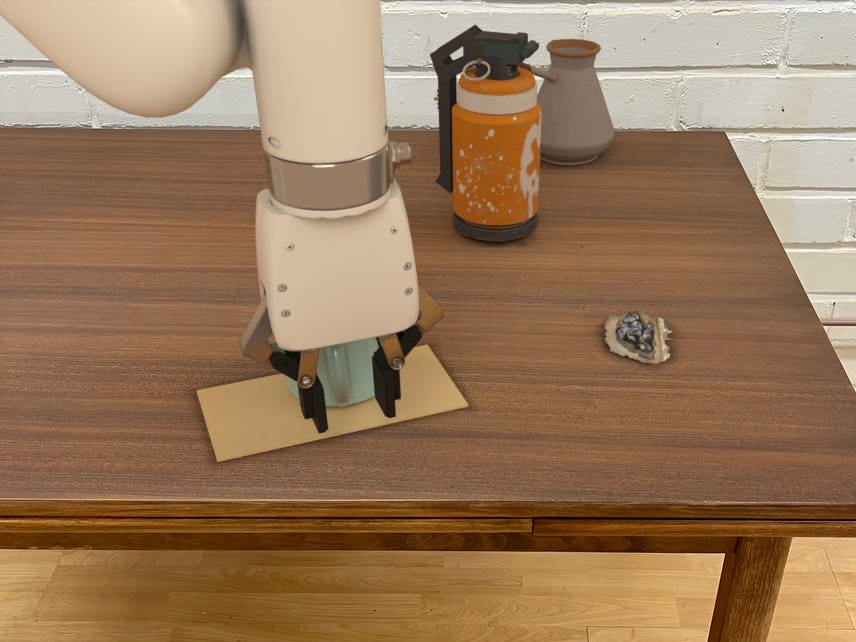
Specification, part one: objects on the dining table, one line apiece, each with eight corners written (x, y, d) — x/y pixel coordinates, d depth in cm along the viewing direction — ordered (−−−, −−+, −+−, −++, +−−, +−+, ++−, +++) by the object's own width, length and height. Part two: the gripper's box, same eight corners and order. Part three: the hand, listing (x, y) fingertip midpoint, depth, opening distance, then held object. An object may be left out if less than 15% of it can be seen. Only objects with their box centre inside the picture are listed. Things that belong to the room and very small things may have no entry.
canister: (522, 252, 98) (529, 46, 86) (423, 237, 101) (415, 35, 88) (546, 218, 105) (556, 22, 92) (452, 204, 108) (449, 12, 95)
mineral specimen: (658, 314, 88) (660, 296, 87) (695, 359, 82) (698, 339, 81) (589, 324, 87) (591, 305, 86) (622, 369, 81) (624, 350, 80)
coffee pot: (567, 132, 126) (575, 9, 117) (631, 156, 120) (645, 27, 110) (441, 171, 116) (438, 38, 106) (504, 200, 109) (507, 61, 99)
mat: (217, 462, 71) (216, 460, 71) (196, 392, 78) (196, 390, 78) (468, 406, 77) (468, 404, 76) (427, 346, 84) (427, 344, 84)
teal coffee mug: (286, 358, 82) (267, 249, 76) (385, 347, 83) (374, 238, 77) (289, 438, 72) (268, 320, 66) (402, 423, 73) (391, 306, 67)
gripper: (437, 135, 64) (442, 367, 75) (180, 169, 59) (227, 412, 70) (478, 175, 58) (477, 418, 70) (199, 216, 53) (247, 470, 65)
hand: (352, 413), depth 70 cm, fingers open, 4 cm apart
